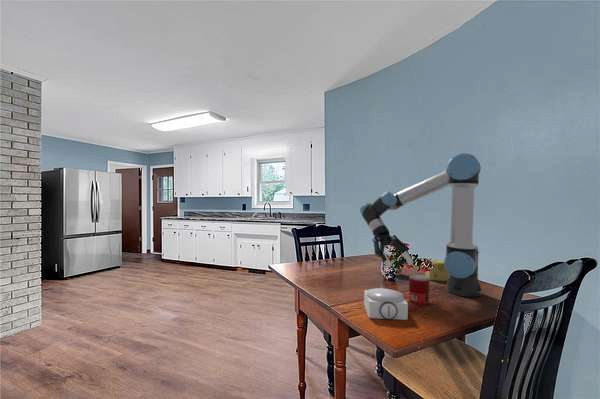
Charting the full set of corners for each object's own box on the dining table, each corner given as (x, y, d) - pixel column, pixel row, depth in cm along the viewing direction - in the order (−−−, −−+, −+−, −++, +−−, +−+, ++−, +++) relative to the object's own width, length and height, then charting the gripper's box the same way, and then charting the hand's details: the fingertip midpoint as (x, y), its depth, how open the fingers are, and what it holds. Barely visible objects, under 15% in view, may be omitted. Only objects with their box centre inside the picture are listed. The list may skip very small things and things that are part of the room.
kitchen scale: (398, 305, 122) (398, 289, 122) (408, 321, 107) (408, 301, 107) (364, 304, 123) (364, 287, 123) (369, 319, 108) (369, 300, 108)
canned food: (430, 306, 123) (431, 279, 122) (410, 304, 124) (411, 278, 124) (426, 299, 130) (427, 275, 130) (407, 298, 132) (408, 273, 132)
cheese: (429, 280, 161) (429, 262, 161) (424, 275, 172) (424, 258, 172) (449, 281, 160) (449, 263, 160) (443, 276, 170) (443, 259, 170)
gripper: (393, 233, 157) (415, 267, 144) (356, 235, 146) (376, 272, 132) (401, 224, 152) (424, 258, 139) (363, 225, 141) (385, 263, 128)
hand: (401, 265), depth 136 cm, fingers open, 13 cm apart
